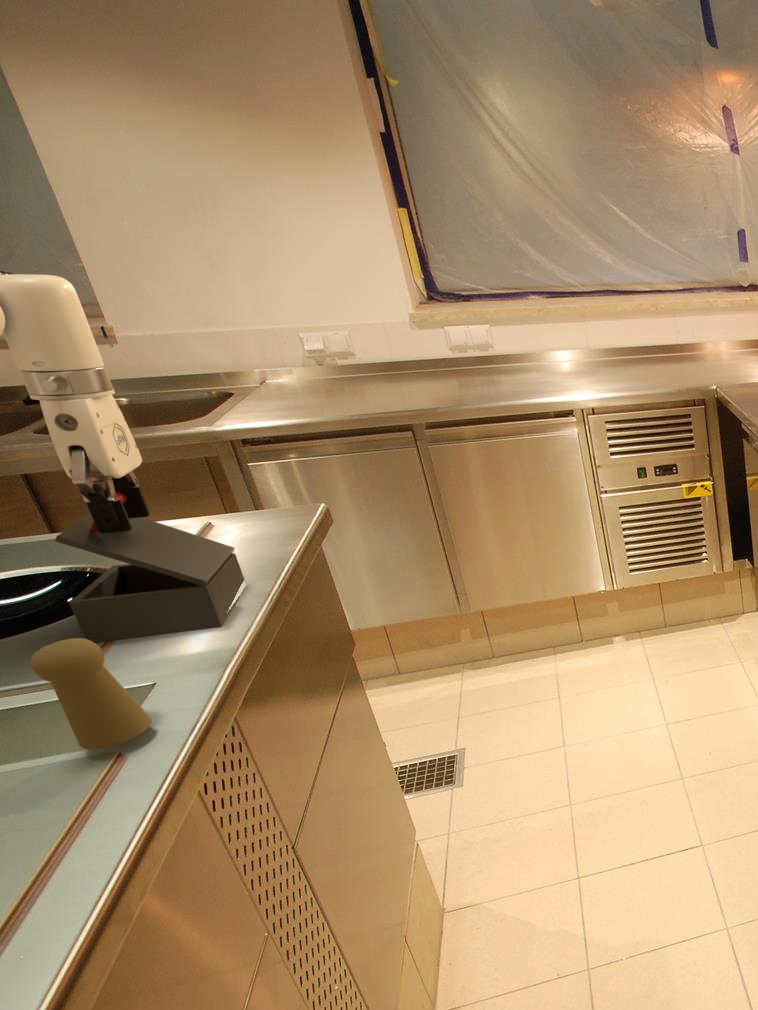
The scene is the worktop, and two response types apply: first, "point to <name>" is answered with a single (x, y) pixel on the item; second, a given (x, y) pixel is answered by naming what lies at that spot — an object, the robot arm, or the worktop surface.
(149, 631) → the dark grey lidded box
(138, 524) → the box lid
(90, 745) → the cork
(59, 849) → the worktop surface
